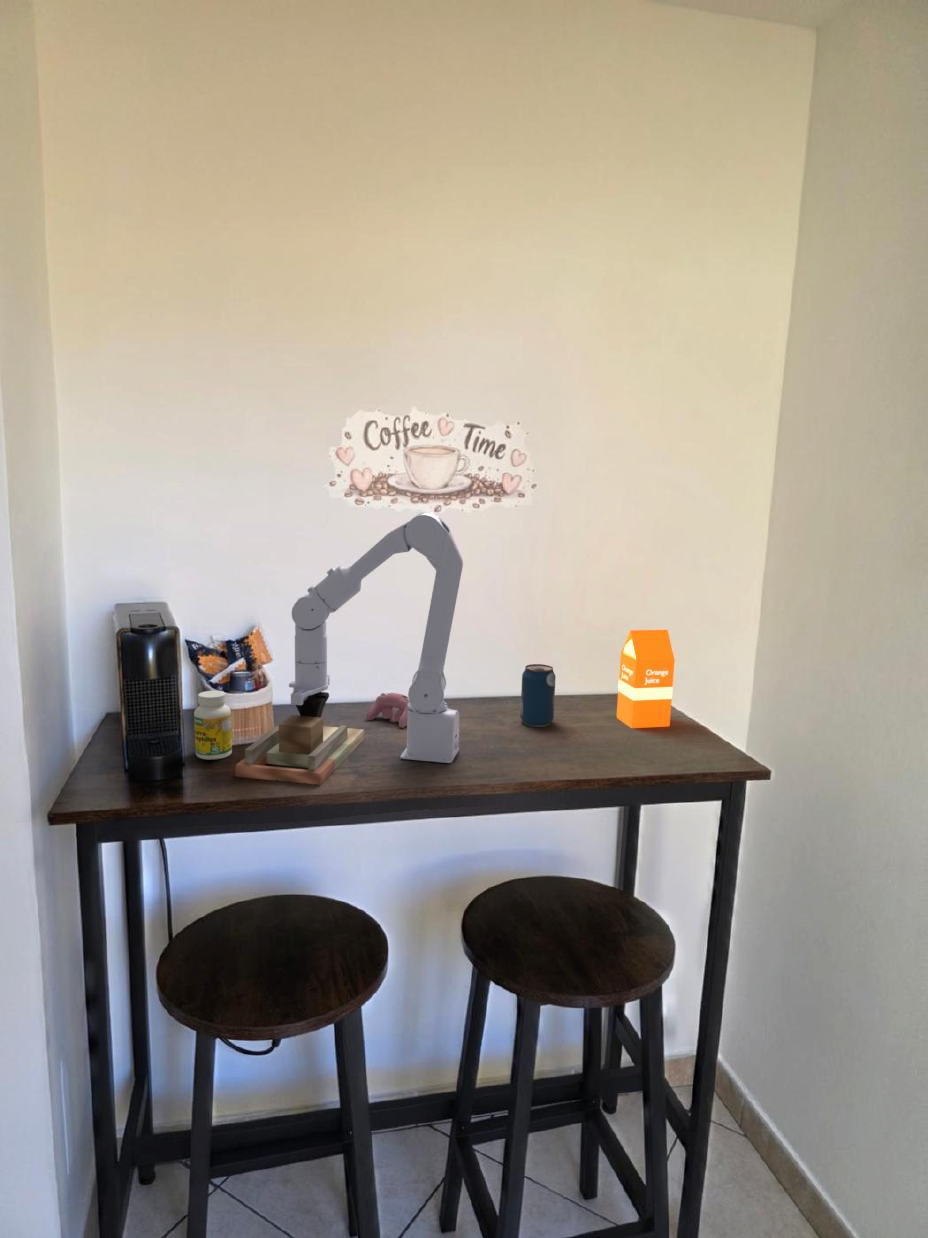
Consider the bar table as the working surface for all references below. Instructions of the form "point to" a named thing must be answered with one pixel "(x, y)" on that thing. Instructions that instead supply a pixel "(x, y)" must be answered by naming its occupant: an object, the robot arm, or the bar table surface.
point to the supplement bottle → (212, 726)
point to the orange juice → (646, 679)
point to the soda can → (537, 695)
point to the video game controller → (390, 708)
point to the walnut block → (300, 734)
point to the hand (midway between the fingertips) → (311, 732)
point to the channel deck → (299, 757)
